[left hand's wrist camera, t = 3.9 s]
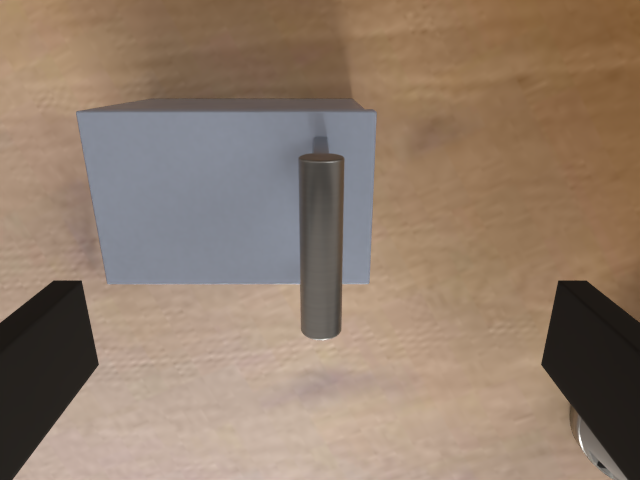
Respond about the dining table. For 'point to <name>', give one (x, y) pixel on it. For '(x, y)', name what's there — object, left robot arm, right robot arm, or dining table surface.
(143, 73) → the dining table surface
